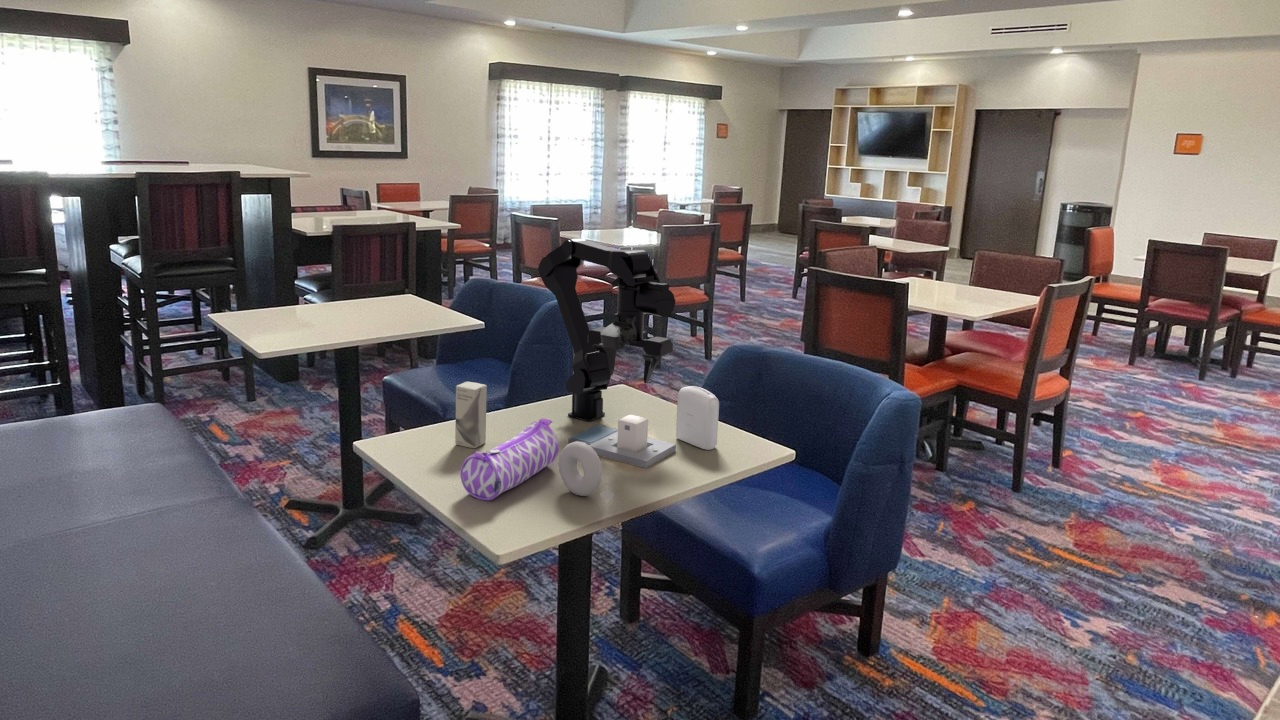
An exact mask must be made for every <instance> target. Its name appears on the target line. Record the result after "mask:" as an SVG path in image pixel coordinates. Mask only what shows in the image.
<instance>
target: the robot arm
mask: <svg viewBox="0 0 1280 720" xmlns="http://www.w3.org/2000/svg"><path fill="white" fill-rule="evenodd" d="M583 261H585V262H589V263H592V264H595V265H598V266H601V267H604V268H607V269H608V270H609V272H610V273H611V274H613V275H614V276H616V278H615V279H613V281H611V283H610V285H611V286H613V287H617V289H618V290H617V312H616V313H614V314H613V317H612V321H611V322H612V323H611V324H609V325H607V326H606V327H605V326H601V327H600V326H599V327H596V328H593V329H590V327H589V324H588V322H587V319H586V316H585V313H584V310H583V308H582V304H581V301H580V298H579V295H578V292H577V289H576V287H577V282H578V277H579V276H578V275H579V274H578V271H577V270H578V269H579V268H580V267H581V266H582V264H583ZM537 269H538V274H539V277H540V278H541V280H542V282H543V285H544V286H545V288H547V289H548V290H549V291H550V292H551V293H552V294H553V295H554V297H555V299H556V302H557V306H558V308H559V311H560V314H561V317H562V320H563V322H564V326H565V328H566V329H565V330H566V332H567V335H568V337H569V340H570V343H571V346H572V347H571V348H572V349H573V353H574V355H573V360H572V365H571V367H572V372H573V373H572V374H571V376H570V377H569V378H568V379H567V380H566V381H565V387H566V392H568V393H571V411H570V412H569V413H567V416H568V417H571V418H574V419H578V420H583V421H587V422H592V421H594V420H596V419H599V418H601V417H603V416H605V415H606V412H604V411H603V409H604V398H603V397H602V393H603V391H602V390H607V389H608V387H609V383H610V381H611V378H612V376H613V375H614V370H615V365H616V356H617V351H619V350H622V349H623V348H624V347H625V346H626V345H627V346H631V347H636V348H637V347H638V348H643V352H644V354H642V355H641V356H642V358H643V360H644V366H643V367H644V368H643V383H644V384H648V383H649V382H650V379H651V377H652V376H653V373H654V371H655V369H656V367H657V366H658V363H660V360H661V358H663V357H665V356H666V355H667V354H669V353H672V352H673V351H674V350H673V349H674V347H673V346H674V344H673V342H672V340H671V339H670V338H668V337H663V336H662V337H661V336H653V337H651V338H648V339H646V338H645V337H647V331H644V324H645V322H644V320H645V319H648V314H649V315H652V316H656V317H662V318H667V317H669V316H670V315H671V314H672V313H673V311H674V309H675V307H676V299H675V295H674V292H672V290H670V285H669V283H665V282H664V283H663V282H662V283H661V280H660V278H659V275H658V274H657V271H656V269H655V267H654V265H653V263H652V260H651V259H650V256H649V253H648V252H647V251H646V250H644V249H617V248H613V247H609V246H607V245H603V244H599V243H596V242H593V241H588V240H586V239H585V238H582V237H581V238H578V237H577V238H568V239H566V240H563V243H562V244H560V246H558V247H557V248H555V249H553V250H552V251H550V252H548V253H547V254H546V256H544V257H542V258H541V259H540V263H539V264H538V268H537Z"/></svg>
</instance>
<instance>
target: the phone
mask: <svg viewBox="0 0 1280 720" xmlns="http://www.w3.org/2000/svg"><path fill="white" fill-rule="evenodd" d="M615 432H618V429H616V428H613V427H607V426H605V425H600V424H596V425H594V426H592V427H590V428H587V429H586V430H584V431H583V430H582V431H581V432H579V433H576V434H574V435H572V436H570V437H568V439H567V442H568V443H572V442H575V441H579V442H584V443H586V444H588V445H590V444H593V443H595V442H597V441H599V440H601V439H603V438H605V437H607V436H609V435H611V434H613V433H615Z"/></svg>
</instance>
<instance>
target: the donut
mask: <svg viewBox="0 0 1280 720" xmlns="http://www.w3.org/2000/svg"><path fill="white" fill-rule="evenodd" d="M558 461H559V462H558V470H559V475H560V477H561V480H562V482H563V484H564V485H565V487H566V488H567V489H568V490H569V491H570V493H573V494H575V495H576V496H581V497H586V496H591V495H592V494H594V493H595V492H596V491H597V490H598V489H599V487H600V485H601V483H602V479H603V466H602V462H601V459H600V456H599V455H597V453H596V452H595V451H594V449H593V448H592V447H591V446H589V445H588V444H586V443H584V442H579V441H575V442H572V443H571V442H568V444H567V445H566V446H565V447H563V449H562V451H561V452H560V454H559V459H558ZM578 462H579V463H580V465H581V466H582V469H583V476H582V475H581V474H580V472H579V469H578Z"/></svg>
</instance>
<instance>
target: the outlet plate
mask: <svg viewBox="0 0 1280 720" xmlns="http://www.w3.org/2000/svg"><path fill="white" fill-rule="evenodd" d="M617 440H618V432H615V433H613V434H611V435H609V436H607V437H605V438H603V439H601V440H599V441H597V442H595V443H593V444H590V445H589V446H591V447H592V448H593V449H594V451H595V452H596V453H597V455H598V457H604V458H608V459H611V460H614V461H618V462H621V463H625V464H629V465H633V466H636V467H640V468H642V469H643V468H644V469H647V468H649V467H650V466H652V465H654V464H655V463H658V462H660V461H661V460H662V459H665V458H667V456H670V455H671V454H674V453H675V452H676V451H677V444H676V443H672V442H669V441H665V440H660V439H658V438H657V439H656V438H652V437H647V448H646V449H644V450H642V451H640V452H638V453H636V452H632V451H628V450H625V449H621V448H617Z"/></svg>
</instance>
